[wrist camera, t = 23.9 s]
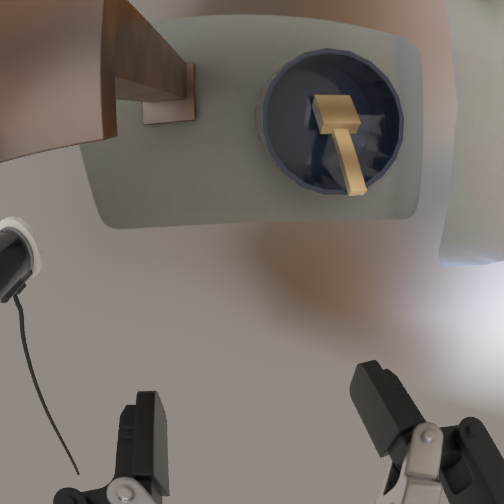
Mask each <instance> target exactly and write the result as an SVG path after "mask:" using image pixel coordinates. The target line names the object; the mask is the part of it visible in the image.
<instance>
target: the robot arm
mask: <svg viewBox="0 0 504 504" xmlns="http://www.w3.org/2000/svg"><path fill="white" fill-rule="evenodd" d="M33 262H34V256H33V251H32V248H31V245H30V243H29V241H28V239H27V238H26V237H25V235H24V234H23V233H22V232H21V231H19V230H18V229H16V228H14V227H4V228H2V229H1V230H0V303H7V302H8V301H9V299H10V298H11V297H12V296H13V298H14V301H15V303H16V306H17V308H18V310H19V318H20V332H21V338H22V344H23V348H24V352H25V355H26V360H27V363H28V366H29V370H30V373H31V376H32V379H33V382H34V385H35V388H36V390H37V393H38V396H39V398H40V400H41V403H42V405H43V407H44V409H45V412H46V414H47V416H48V418H49V420H50V422H51V424H52V426H53V428H54V430H55V432H56V434H57V435H58V437H59V439H60V441H61V443H62V444H63V446H64V448H65V450H66V452H67V454H68V456H69V458H70V460H71V462H72V463H73V465H74V468H75V470H76V472H77V474H78V475H79V471H78V469H77V467H76V464H75V462H74V460H73V458H72V456H71V454H70V452H69V450H68V449H67V447H66V445H65V443H64V441H63V439H62V437H61V436H60V433H59V432H58V430H57V428H56V426H55V424H54V422H53V420H52V418H51V415H50V413H49V411H48V409H47V407H46V405H45V402H44V399H43V397H42V394H41V392H40V389H39V387H38V383H37V381H36V378H35V375H34V371H33V368H32V364H31V360H30V356H29V353H28V349H27V344H26V338H25V331H24V315H23V309H22V306H21V304H20V302H19V299H18V297H17V294H20V292H21V291H22V290H23V289H24V288H25V287H26V283H25V282H26V281H27V280H28V279H29V277H30V276H31V275H32V274H33V272H32V267H33ZM350 396H351V399H352V401H353V403H354V405H355V407H356V409H357V411H358V413H359V415H360V417H361V419H362V421H363V423H364V425H365V427H366V429H367V431H368V433H369V435H370V437H371V439H372V441H373V444H374V445H375V448H376V450H377V452H378V454H379V456H380V457H384V456H387V455H390V457H391V460H390V463H389V466H388V470H387V473H386V477H385V480H384V483H383V487H382V490H381V493H380V496H379V498H378V500H377V502H376V503H375V504H439V502H440V497H441V492H442V487H443V489H444V492H445V494H446V496H447V498H448V500H449V503H450V504H504V459H503V458H502V456H501V454H500V452H499V450H498V449H497V447H496V445H495V443H494V442H493V440H492V438H491V437H490V435H489V433H488V432H487V430H486V428H485V427H484V425H483V424H482V422H481V421H480V420H479V419H477V418H474V417H467V418H465V419H463V420H462V421H461V422H460V424H459V425H456V426H449V427H438V426H437V425H436V424H434V423H430V422H426V420H425V419H424V418H423V416H422V415H421V413H420V411H419V410H418V409H417V407H416V405H415V404H414V402H413V401H412V399H411V397H410V396H409V394H407V391H406V390H405V388H404V387H403V385H402V383H401V382H400V380H399V379H398V377H397V376H396V375H395V374H393V373H392V372H391V371H390V370H388V369H385V370H383V369H382V368H381V366H380V365H379V363H378V362H377V361H376V360H372V361H368V362H364V363H360V364H358V365H357V367H356V370H355V373H354V376H353V379H352V381H351V384H350ZM115 468H116V469H115V475H114V478H113V479H112V481H111V482H110V483H109V484H108V485H107V486H105V487H103V488H100V489H95V490H90V491H85V492H80V491H78V490H77V489H74V488H63V489H61V490H59V491H58V492H57V493H56V495H55V497H54V500H53V504H162V496H169V477H168V449H167V419H166V414H165V410H164V408H163V405H162V403H161V400H160V397H159V394H158V392H157V391H139V392H138V393H137V399H136V405H126V407H125V409H124V410H123V412H122V413H121V415H120V422H119V431H118V442H117V453H116V467H115ZM438 478H439V480H438Z"/></svg>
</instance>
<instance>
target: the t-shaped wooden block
mask: <svg viewBox="0 0 504 504" xmlns="http://www.w3.org/2000/svg"><path fill="white" fill-rule="evenodd" d="M312 108H313V111H314V115H315V118H316V121H317V125H318V128H319V132H320V134H332V138H333V141H334V144H335V148H336V151H337V155H338V158H339V162H340V166H341V169H342V173H343V177H344V180H345V184H346V188H347V192H348V196H355V195H364V194H365V192H366V191H367V189H366V186H365V182H364V179H363V175H362V172H361V168H360V165H359V162H358V159H357V155H356V152H355V149H354V146H353V143H352V140H351V137H350V134H356V133H357V130H358V128H359V126H360V124H361V122H360V119H359V117H358V114H357V112H356V109H355V106H354V104H353V102H352V99H351V97H350V95H315V96H314V100H313V104H312Z"/></svg>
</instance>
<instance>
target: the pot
mask: <svg viewBox="0 0 504 504" xmlns="http://www.w3.org/2000/svg"><path fill="white" fill-rule="evenodd" d="M315 95H350V97H351V99H352V102H353V104H354V106H355V109H356V112H357V114H358V117H359V119H360V122H361V124H360V126H359V128H358V130H357V133H356V134H350V137H351V140H352V143H353V146H354V149H355V152H356V155H357V159H358V162H359V165H360V168H361V172H362V175H363V179H364V182H365V186H366V188H367V187H368V186H370V185H371V184H373V183H374V182H375V181H377V180H378V179H380V178H381V177H382V176H383V175H384V174H385V173H386V171H387V170H388V169H389V168H390V166H391V165H392V164H393V162H394V161H395V159H396V157H397V154H398V151H399V149H400V146H401V143H402V140H403V125H404V117H403V112H402V108H401V104H400V100H399V97H398V95H397V93H396V91H395V89H394V88H393V86H392V84H391V82H390V81H389V79H388V77H387V76H386V75H385V74H383V73H382V72H381V71H380V70H379V69H378V68H377V67H376V66H375V65H374V64H373V63H372V62H370V61H369V60H367V59H365V58H363V57H361V56H358V55H356V54H354V53H352V52H350V51H344V50H336V49H329V48H326V49H320V50H315V51H310V52H306V53H303V54H301V55H300V56H298V57H296V58H295V59H293V60H291V61H290V62H288V63H286V64H285V65H284V66H282V67H281V68H280V69H279V70H278V71H277V72H276V73H274V74H273V75H272V77H271V78H270V79H269V80H268V82H267V83H266V84H265V86H264V87H263V88H262V90H261V92H260V95H259V98H258V101H257V104H256V107H255V127H256V131H257V134H258V137H259V140H260V142H261V145H262V147H263V149H264V150H265V151H266V153H267V154H268V155H269V157H270V158H271V159H272V161H273V162H274V163H275V164H276V165H277V166H278V167H279V169H280V170H281V171H282V172H283V173H284V174H285V175H287V176H288V177H289V178H291V179H292V180H294V181H295V182H296V183H298V184H299V185H300V186H302V187H303V188H307V189H310V190H313V191H316V192H319V193H322V194H340V195H346V194H348V192H347V188H346V184H345V180H344V177H343V173H342V169H341V166H340V162H339V158H338V155H337V151H336V148H335V144H334V141H333V138H332V134H320V132H319V128H318V125H317V121H316V118H315V115H314V111H313V108H312V104H313V100H314V96H315Z"/></svg>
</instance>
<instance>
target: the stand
mask: <svg viewBox="0 0 504 504" xmlns="http://www.w3.org/2000/svg"><path fill="white" fill-rule="evenodd" d="M115 99H118V100H130V101H140V102H142V109H143V125H149V124H157V123H167V122H178V121H191V120H196V105H195V64H194V63H185V62H184V61H183V60H182V58H181V57H180V56H179V55H178V54H177V53H176V52H175V51H174V49H173V48H172V47H171V46H170V45H169V44H168V43H167V42H166V41H165V39H164V38H163V37H162V36H161V35H160V34H159V33H158V32H157V31H156V30H155V29H154V28H153V26H152V25H151V24H150V23H149V22H148V21H147V20H146V19H145V18H144V17H143V16H142V15H141V14H140V13H139V12H138V11H137V10H136V9H135V8H134V7H133V6H132V5H131V4H130V3H129V2H128V1H127V0H0V163H1V162H5V161H9V160H12V159H16V158H20V157H23V156H27V155H32V154H35V153H40V152H44V151H49V150H53V149H58V148H63V147H67V146H73V145H78V144H83V143H89V142H95V141H101V140H106V139H109V138H113V137H117V121H116V100H115Z"/></svg>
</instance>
